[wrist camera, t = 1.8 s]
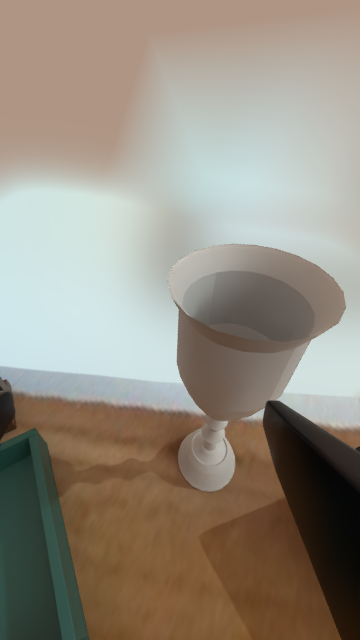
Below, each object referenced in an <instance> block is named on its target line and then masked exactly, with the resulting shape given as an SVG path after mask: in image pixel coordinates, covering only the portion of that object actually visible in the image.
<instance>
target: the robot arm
mask: <svg viewBox="0 0 360 640" xmlns="http://www.w3.org/2000/svg"><path fill="white" fill-rule="evenodd" d="M14 416H15V406H14V401H13V395H12V393H11V392H9V391H0V440H1V438H2V437H3V435H4V433H5V432H6V430H7V429H8V427H9V425H10V424H11V422H12V420H13V419H14ZM263 427H264V431H265V434H266V438H267V442H268V445H269V449H270V453H271V456H272V460H273V463H274V467H275V470H276V473H277V475H278V478H279V481H280V483H281V486H282V488H283V491H284V494H285V496H286V499H287V501H288V504H289V506H290V509H291V511H292V514H293V517H294V519H295V522H296V524H297V527H298V529H299V532H300V535H301V537H302V540H303V542H304V545H305V547H306V550H307V553H308V555H309V558H310V560H311V563H312V565H313V568H314V570H315V573H316V576H317V578H318V581H319V583H320V586H321V588H322V591H323V594H324V596H325V599H326V601H327V604H328V606H329V609H330V611H331V614H332V617H333V619H334V622H335V624H336V627H337V629H338V632H339V635H340V637H341V640H360V452H358V451H357V450H355V449H353V448H352V447H350V446H349V445H347V444H346V443H344V442H342V441H341V440H339V439H338V438H336V437H335V436H333V435H332V434H330V433H328V432H327V431H325V430H324V429H322V428H321V427H319V426H318V425H316V424H314V423H313V422H311V421H310V420H308V419H307V418H305V417H303V416H302V415H300V414H299V413H297V412H296V411H294V410H293V409H291V408H289V407H288V406H286V405H285V404H283V403H282V402H280V401H274V400H268V401H267V402H266V405H265V411H264V417H263Z"/></svg>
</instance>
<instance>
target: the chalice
mask: <svg viewBox="0 0 360 640" xmlns="http://www.w3.org/2000/svg"><path fill="white" fill-rule="evenodd" d="M167 283H168V286H169V290H170V293H171V297H172V299H173V300H174V302H175V304H176V306H177V307H178V309H179V320H178V345H177V365H178V369H179V373H180V377H181V379H182V381H183V383H184V385H185V387H186V389H187V391H188V393H189V394H190V396H191V397H192V399H193V400H194V402H195V403H196V405H197V406H198V407H199V408H200V409H201V410H203V411H204V412H205V413H206V416H205V421H206V423H205V424H204V425H203V427H202V428H200V429H198V430H196V431H194V432H192V433H190V434H189V435H187V436H186V438H185V439H184V440H183V441H182V443H181V446H180V448H179V451H178V463H179V468H180V471H181V473H182V475H183V476H184V478H185V480H186V481H187V482H188V483H189V484H191V485H192V486H193V487H195V488H197V489H199V490H201V491H209V492H213V491H216V490H219V489H222V488H223V487H224V486H225V485H227V484H228V483H229V481H230V480H231V478H232V476H233V474H234V470H235V455H234V453H233V450H232V447H231V446H230V444H229V442H228V440H227V439H226V438H225V430H224V428H225V427H226V426H227V423H228V421H231V420H237V419H241V418H244V417H248V416H251V415H253V414H255V413H256V412H258V411H260V410H261V409H263V408H265V405H266V402H267V401H268V400H274V401H275V400H276V399H278V398H279V397H280V396H281V395H282V393H283V391H284V389H285V388H286V386H287V384H288V382H289V381H290V379H291V377H292V375H293V373H294V371H295V369H296V367H297V366H298V364H299V362H300V360H301V358H302V356H303V354H304V352H305V351H306V349H307V346H308V345H309V343H310V341H311V340H312V339H313V338H315V337H317V336H319V335H321V334H322V333H324V332H325V331H327V330H328V329H330V328H332V327H333V326H335V325H336V324H338V323H339V321H340V319H341V317H342V315H343V313H344V311H345V309H346V305H345V299H344V293H343V291H342V290H341V288H340V287H339V286H338V284H337V283H336V281H335V280H334V278H332V277H331V276H330V275H329V274H327V273H326V272H325V271H324V270H322V269H321V268H320V267H318V266H317V265H315V264H313V263H311V262H309V261H307V260H305V259H303V258H301V257H299V256H297V255H294V254H291V253H288V252H284V251H281V250H278V249H274V248H268V247H263V246H257V245H245V244H227V245H217V246H211V247H207V248H203V249H199V250H196V251H194V252H192V253H190V254H188V255H186V256H184V257H182V258H181V259H180V260H179V261H178V262H177V263H176V264H175V265H174V266H173V267H172V268H171V271H170V274H169V277H168V280H167Z"/></svg>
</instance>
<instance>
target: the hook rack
mask: <svg viewBox="0 0 360 640" xmlns="http://www.w3.org/2000/svg"><path fill="white" fill-rule="evenodd" d="M0 391H9V392H11V393H12V391H11V385H10V384H9V382H8V381H7V380H2V378H1V377H0ZM15 428H16V421H15V416H14V419H13V420H12V422H11V424H10V425H9V427H8V429H7V430H6V432H5V433H7V432H9V431H11V430H13V429H15Z"/></svg>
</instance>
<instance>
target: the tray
mask: <svg viewBox="0 0 360 640" xmlns="http://www.w3.org/2000/svg"><path fill="white" fill-rule="evenodd" d="M0 640H89V637H88V632H87V627H86V623H85V618H84V613H83V609H82V604H81V600H80V595H79V590H78V586H77V581H76V576H75V572H74V567H73V563H72V558H71V553H70V549H69V544H68V539H67V535H66V530H65V526H64V521H63V516H62V512H61V507H60V503H59V498H58V493H57V489H56V484H55V479H54V475H53V470H52V466H51V461H50V456H49V452H48V447H47V443H46V442H45V441H44V439H43V438H42V436H41V435H40V434H39V432H38V431H37V430H36V428H34V429H31V430H29V431H27V432H25V433H23V434H21V435H19V436H17V437H14V438H12V439H10V440H8V441H6V442H4V443H2V444H0Z"/></svg>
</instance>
